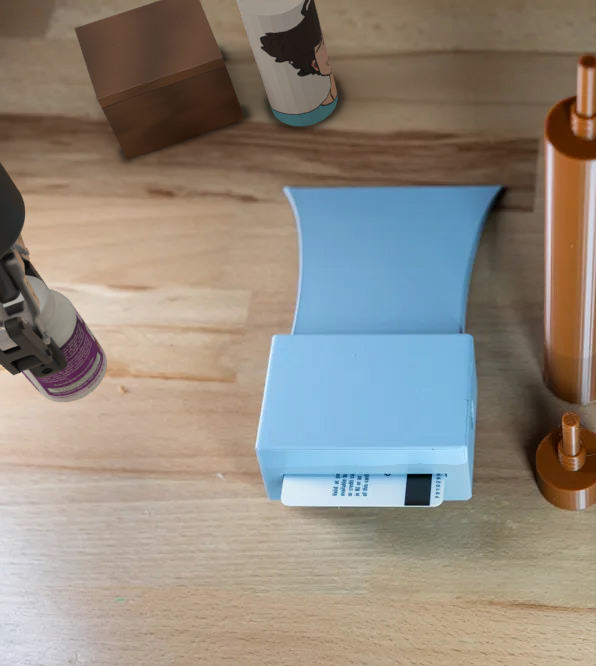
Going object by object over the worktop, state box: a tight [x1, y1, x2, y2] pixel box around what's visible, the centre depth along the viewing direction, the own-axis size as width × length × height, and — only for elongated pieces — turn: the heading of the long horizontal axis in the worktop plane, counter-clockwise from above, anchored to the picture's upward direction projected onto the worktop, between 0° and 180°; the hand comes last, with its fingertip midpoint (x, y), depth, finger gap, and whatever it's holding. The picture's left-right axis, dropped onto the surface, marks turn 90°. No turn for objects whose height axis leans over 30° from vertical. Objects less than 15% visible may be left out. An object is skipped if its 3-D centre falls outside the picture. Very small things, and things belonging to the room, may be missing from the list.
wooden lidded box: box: [74, 0, 246, 160], centre depth 115 cm, size 12×10×9 cm
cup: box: [235, 0, 339, 127], centre depth 111 cm, size 7×7×15 cm
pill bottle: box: [3, 276, 108, 403], centre depth 80 cm, size 5×5×10 cm
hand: (43, 332), depth 80 cm, fingers closed on pill bottle, 5 cm apart
